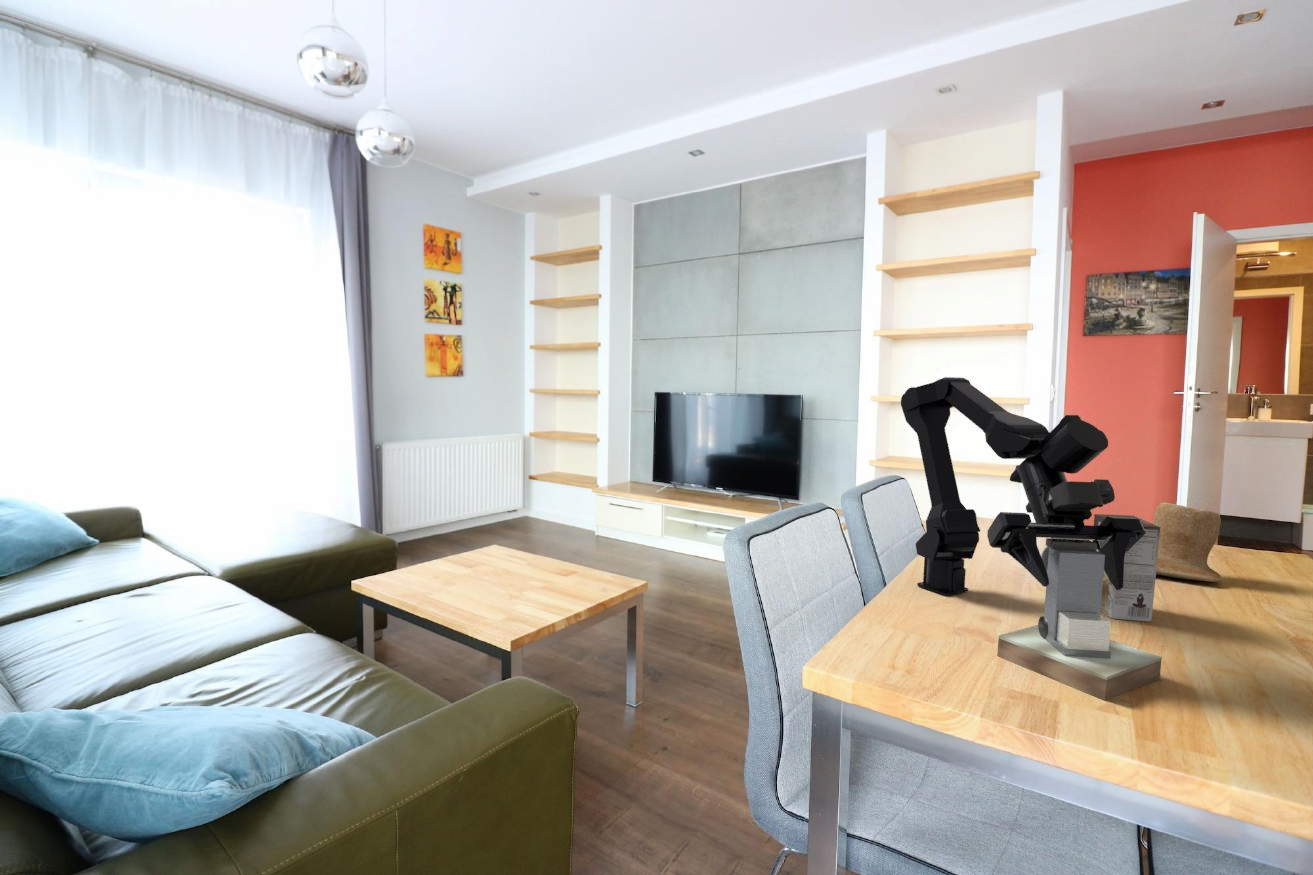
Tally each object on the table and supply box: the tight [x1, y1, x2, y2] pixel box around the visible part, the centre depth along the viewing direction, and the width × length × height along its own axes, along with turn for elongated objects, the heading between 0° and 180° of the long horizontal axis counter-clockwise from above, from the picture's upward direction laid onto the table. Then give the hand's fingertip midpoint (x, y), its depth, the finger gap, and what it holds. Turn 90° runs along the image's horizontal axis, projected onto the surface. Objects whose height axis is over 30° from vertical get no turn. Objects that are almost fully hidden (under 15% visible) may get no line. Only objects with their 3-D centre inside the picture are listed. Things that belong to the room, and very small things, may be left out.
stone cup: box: [1152, 502, 1222, 582], centre depth 130 cm, size 15×12×15 cm
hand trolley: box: [1037, 537, 1112, 659], centre depth 86 cm, size 8×6×14 cm
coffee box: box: [1093, 513, 1161, 622], centre depth 108 cm, size 9×6×16 cm
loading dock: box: [997, 624, 1163, 701], centre depth 86 cm, size 14×13×3 cm
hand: (1083, 586), depth 85 cm, fingers open, 9 cm apart
